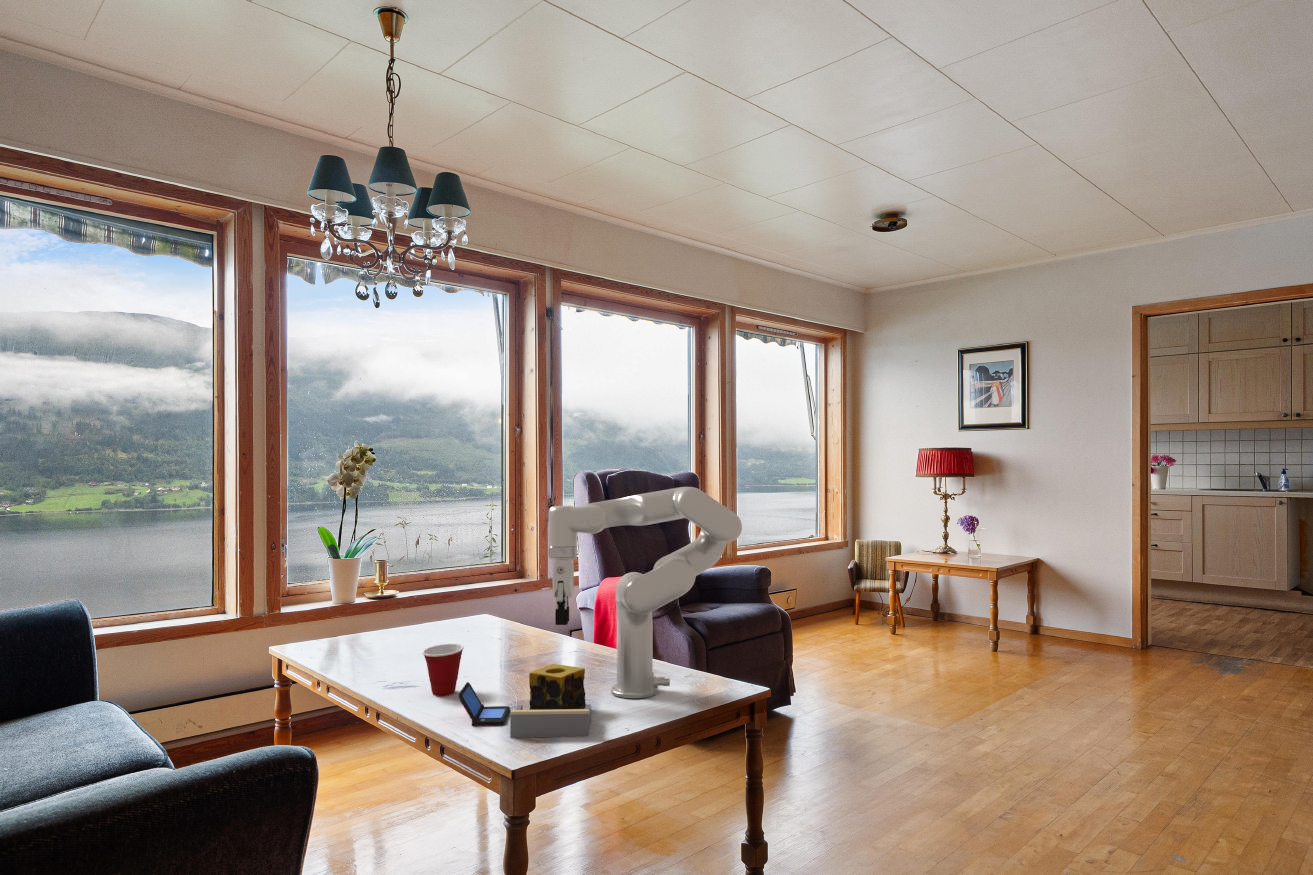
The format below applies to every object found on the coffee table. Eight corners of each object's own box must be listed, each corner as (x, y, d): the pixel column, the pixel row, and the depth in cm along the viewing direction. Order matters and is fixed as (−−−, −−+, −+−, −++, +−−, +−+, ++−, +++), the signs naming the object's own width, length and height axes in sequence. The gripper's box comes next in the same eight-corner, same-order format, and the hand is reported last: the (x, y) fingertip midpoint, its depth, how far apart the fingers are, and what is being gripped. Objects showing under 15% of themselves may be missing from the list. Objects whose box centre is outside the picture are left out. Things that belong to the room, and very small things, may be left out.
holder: (590, 721, 180) (590, 697, 180) (588, 736, 170) (588, 710, 170) (517, 722, 179) (517, 698, 180) (510, 737, 169) (510, 711, 169)
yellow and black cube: (586, 708, 190) (586, 667, 191) (561, 720, 182) (561, 677, 182) (554, 702, 195) (554, 662, 196) (528, 713, 187) (528, 671, 187)
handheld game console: (504, 726, 177) (504, 694, 178) (456, 727, 177) (457, 695, 177) (511, 710, 190) (511, 679, 190) (466, 711, 189) (467, 680, 189)
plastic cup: (414, 692, 204) (415, 647, 205) (452, 685, 211) (453, 641, 212) (431, 701, 196) (432, 654, 196) (470, 694, 203) (471, 648, 203)
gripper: (574, 556, 194) (574, 629, 193) (579, 549, 210) (578, 617, 209) (544, 556, 193) (544, 629, 193) (551, 549, 210) (551, 617, 209)
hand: (562, 622), depth 201 cm, fingers open, 3 cm apart
